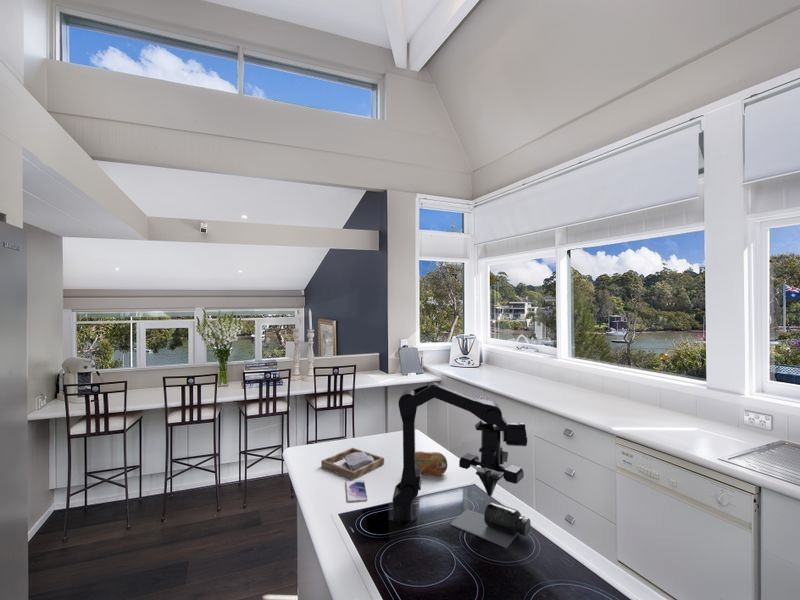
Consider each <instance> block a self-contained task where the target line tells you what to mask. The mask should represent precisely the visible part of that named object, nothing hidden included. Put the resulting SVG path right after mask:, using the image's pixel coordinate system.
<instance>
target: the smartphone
mask: <svg viewBox="0 0 800 600" xmlns="http://www.w3.org/2000/svg"><path fill="white" fill-rule="evenodd" d="M366 489H367V488H366V483H365V480H362V479H360V480H347V481H345V498H346V502H347V503H359V502H360V501H364V502H367V500H369V499H368V494H367V490H366ZM360 503H361V502H360Z"/></svg>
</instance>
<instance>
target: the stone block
mask: <svg viewBox="0 0 800 600" xmlns="http://www.w3.org/2000/svg"><path fill="white" fill-rule="evenodd" d="M362 451H363V452H357V453H356V452H355V453H351V454H349V455H347V456H346V457H345V458H344V460H345V462H346V464H347V465H348V467H349V470H351V471H355V470H357V469H359V468H361V467H363V466H366V465H368V464H370V463H372V462H374V459H373V457H372V456H370V455H367V454H366V453H365V452H366V451H364V450H362Z"/></svg>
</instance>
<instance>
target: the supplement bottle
mask: <svg viewBox="0 0 800 600" xmlns="http://www.w3.org/2000/svg"><path fill="white" fill-rule="evenodd" d="M483 515H484V521H485V524H486V525H487V526H489V527H492V528H494V529H497V530H500V531H502V532H505V533H507V534H510V535H512V536H515V535H517V534H518V533H519V534H518V535H520V536H524V537H528V536H529V534H530V531H531V525H532V523H531V518H529V517H526V516H525V515H524V516H523V515H522V514H521V512H520V511H519V510H518V509H515V508H512V507H509V506H506V505H504V504H501V503H498V502H495V501H490V502H488V503H487V504H486V507H485V510H484V514H483ZM518 535H517V536H518Z"/></svg>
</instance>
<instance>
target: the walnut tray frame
mask: <svg viewBox="0 0 800 600" xmlns="http://www.w3.org/2000/svg"><path fill="white" fill-rule="evenodd" d="M363 451H364V450H361V449H358V448H355V447H351V448H349V449H346V450H343V451H342V452H339V453H337V454H334V455H331V456H330V457H327V458H324V459H322V460H321V464H320V465H321V468H323V469H326V470H328V471H331V472H334V473H336V474H339V475H341V476H344V477H346V478H349V479H351V480H352V481H355V480H357V478H359V477H360V478H361V476H363V475H365V474H367V473H369V472H372V471H373V470H375V469H378V468H380V467H382V466H383V465H385V457H383V456H379V455H376V454H374V453H370V452H367V451H364V452H365V453H366V454H367V455H370V456H372V457H373V459H374V462H372V463H370V464H368V465H366V466H363V467H361V468H359V469H357V470H355V471H353V470H351V469H350V468H349V469H348V468H345V467H343V466H340V465H338V464H335V463H336V462H339V461H341V460H343V458H344V459H345V457H346V456H347V455H349V454H351V453H355V452H356V453H357V452H363ZM334 462H335V463H334Z"/></svg>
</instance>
